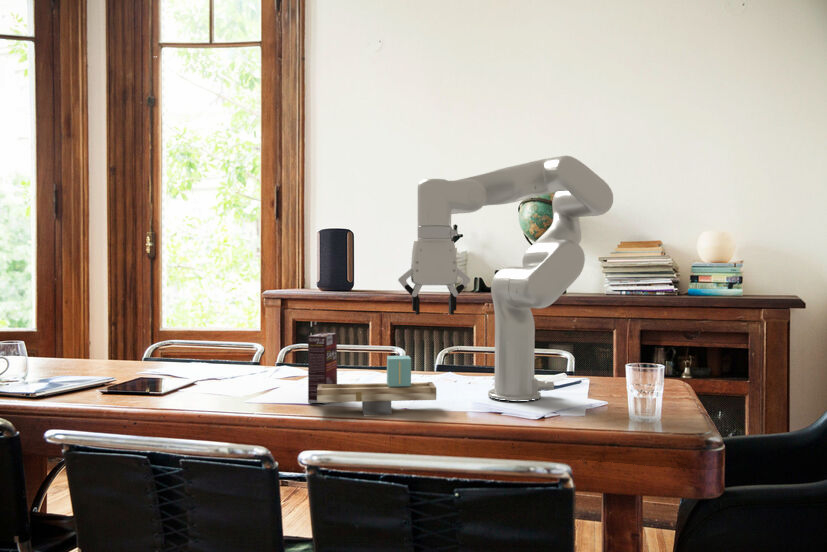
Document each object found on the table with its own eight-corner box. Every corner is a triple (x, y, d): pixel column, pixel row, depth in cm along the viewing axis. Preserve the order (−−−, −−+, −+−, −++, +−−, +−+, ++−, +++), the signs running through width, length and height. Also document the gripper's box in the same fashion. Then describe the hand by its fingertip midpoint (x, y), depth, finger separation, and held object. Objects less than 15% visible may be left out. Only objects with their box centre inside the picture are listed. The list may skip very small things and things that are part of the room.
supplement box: (327, 404, 163) (326, 336, 163) (307, 403, 164) (306, 336, 163) (338, 397, 171) (337, 332, 171) (319, 396, 172) (318, 332, 172)
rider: (408, 388, 159) (408, 355, 159) (411, 392, 154) (411, 359, 154) (386, 388, 159) (386, 355, 158) (388, 392, 154) (388, 359, 153)
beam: (431, 405, 162) (431, 381, 162) (436, 414, 153) (437, 388, 153) (318, 408, 159) (318, 383, 159) (317, 417, 150) (316, 390, 150)
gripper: (469, 235, 161) (469, 312, 161) (394, 235, 159) (394, 313, 160) (475, 234, 153) (475, 315, 154) (396, 234, 152) (397, 316, 152)
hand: (434, 313), depth 157 cm, fingers open, 7 cm apart
